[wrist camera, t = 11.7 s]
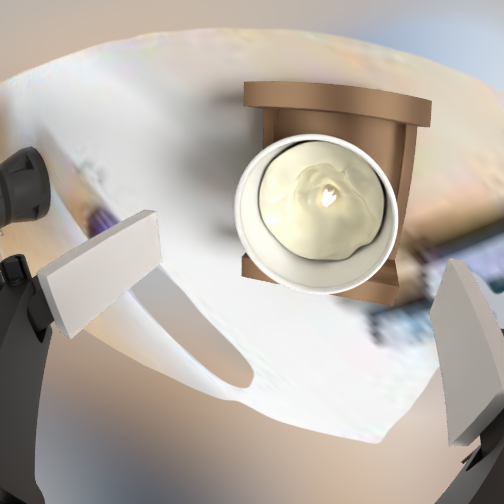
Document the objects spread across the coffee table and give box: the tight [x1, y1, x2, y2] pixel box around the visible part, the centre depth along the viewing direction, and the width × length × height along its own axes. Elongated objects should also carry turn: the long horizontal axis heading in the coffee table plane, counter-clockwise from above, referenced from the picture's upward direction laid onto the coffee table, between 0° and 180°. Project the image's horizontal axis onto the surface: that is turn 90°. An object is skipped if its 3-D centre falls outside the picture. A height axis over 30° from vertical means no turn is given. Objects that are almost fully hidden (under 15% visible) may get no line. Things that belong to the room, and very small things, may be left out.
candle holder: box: [234, 134, 398, 295], centre depth 21 cm, size 10×10×12 cm
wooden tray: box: [242, 81, 432, 306], centre depth 24 cm, size 14×17×7 cm
